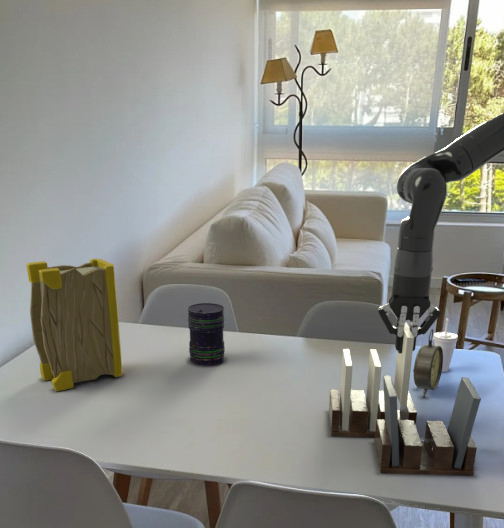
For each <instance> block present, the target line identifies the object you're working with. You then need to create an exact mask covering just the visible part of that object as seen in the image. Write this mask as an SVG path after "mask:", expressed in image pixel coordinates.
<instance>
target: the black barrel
mask: <svg viewBox="0 0 504 528" xmlns="http://www.w3.org/2000/svg"><path fill="white" fill-rule="evenodd" d="M187 312H188V314H187V315H188V316H187V323H188V325H187V326H188V329H189V342H188V343H189V345H188V352H189V357H190V358H189V362H190V363H191V364H192V365H194V366H197V367H198V366H199V367H214V366H215V367H216V366H219V365H222V364H223V363H224V362H225V360H226V359H225V351H226V347H225V340H224V329H225V308H224V306H223V305H221V304H218V303H213V302H202V303H195V304H191V305H190V306H188V307H187Z"/></svg>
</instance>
